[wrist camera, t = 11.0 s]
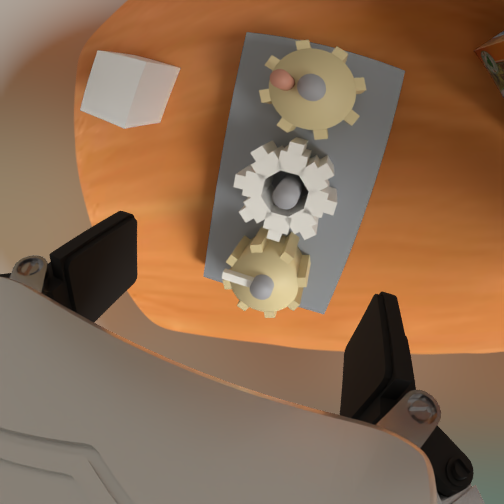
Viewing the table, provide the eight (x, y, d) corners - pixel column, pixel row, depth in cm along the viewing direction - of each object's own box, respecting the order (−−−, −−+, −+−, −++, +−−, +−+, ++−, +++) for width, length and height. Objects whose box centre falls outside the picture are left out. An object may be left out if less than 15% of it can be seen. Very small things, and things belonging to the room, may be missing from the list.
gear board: (399, 73, 19) (429, 58, 12) (325, 302, 31) (318, 359, 24) (252, 37, 21) (219, 10, 14) (210, 267, 33) (176, 313, 25)
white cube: (160, 122, 27) (124, 129, 22) (118, 106, 27) (79, 110, 22) (181, 67, 24) (146, 61, 19) (135, 54, 24) (97, 50, 19)
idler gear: (347, 151, 22) (350, 159, 19) (322, 233, 26) (320, 254, 22) (257, 127, 23) (244, 130, 19) (240, 209, 27) (226, 226, 23)
